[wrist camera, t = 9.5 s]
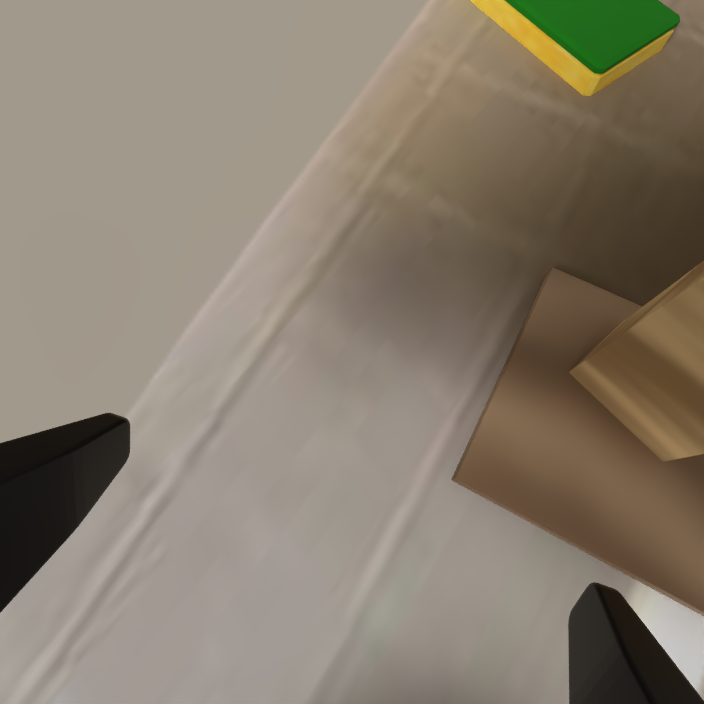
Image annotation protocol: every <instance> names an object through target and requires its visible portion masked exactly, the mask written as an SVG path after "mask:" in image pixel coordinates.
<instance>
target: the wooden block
mask: <svg viewBox="0 0 704 704" xmlns="http://www.w3.org/2000/svg"><path fill="white" fill-rule="evenodd" d="M569 373H570V374H571V375H572V376H573V377H574V378H575V379H576V380H577V381H578V382H579V383H580V384H581V385H583V386H584V387H585V388H586V389H587V390H588V391H589V392H590V393H591V394H592V395H593V396H594V397H595V398H596V399H597V400H598V401H599V402H600V403H602V404H603V405H604V406H605V407H606V408H607V409H608V410H609V411H610V412H611V413H612V414H613V415H614V416H615V417H616V418H617V419H618V420H619V421H621V422H622V423H623V424H624V425H625V426H626V427H627V428H628V429H629V430H630V431H631V432H632V433H633V434H634V435H635V436H636V437H637V438H638V439H640V440H641V441H642V442H643V443H644V444H645V445H646V446H647V447H648V448H649V449H650V450H651V451H652V452H653V453H654V454H655V455H656V456H657V457H659V458H660V459H661V460H662V461H663V462H664V461H669V460H675V459H680V458H685V457H690V456H696V455H701V454H704V261H703V262H701V263H700V264H699V265H697V266H696V267H695V268H693V269H692V270H691V271H689V272H688V273H687V274H685V275H684V276H683V277H681V278H680V279H679V280H677V281H676V282H675V283H673V284H672V285H671V286H669V287H668V288H667V289H665V290H664V291H663V292H661V293H660V294H659V295H657V296H656V297H655V298H653V299H652V300H651V301H649V302H648V303H647V304H645V305H644V306H643V307H641V308H640V309H639V310H638V311H636V312H635V313H634V314H632V315H631V316H630V317H628V318H627V319H626V320H624V321H623V322H622V323H621V324H620V325H619V326H618V327H616V328H615V329H614V330H613V331H612V332H611V333H610V334H609V335H608V336H607V337H606V338H605V339H604V340H603V341H601V342H600V343H599V344H598V345H597V346H596V347H595V348H594V349H593V350H592V351H591V352H590V353H589V354H588V355H586V356H585V357H584V358H583V359H582V360H581V361H580V362H579V363H578V364H577V365H576V366H575V367H574V368H573V369H571V370H570V371H569Z"/></svg>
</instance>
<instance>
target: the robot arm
mask: <svg viewBox="0 0 704 704" xmlns="http://www.w3.org/2000/svg"><path fill="white" fill-rule="evenodd" d="M129 453H130V423H129V421H128V419H126V418H124V417H121V416H118V415H115V414H113V413H105V414H101V415H98V416H95V417H91V418H87V419H84V420H81V421H77V422H73V423H70V424H66V425H63V426H59V427H56V428H52V429H49V430H45V431H42V432H38V433H35V434H32V435H28V436H24V437H21V438H17V439H14V440H10V441H6V442H3V443H0V612H1V611H2V610H3V609H4V608H5V607H6V606H7V605H8V604H9V603H10V601H11V600H12V599H13V598H14V597H15V596H16V595H17V594H18V593H19V592H20V590H21V589H22V588H23V587H24V586H25V585H26V584H27V583H28V582H29V580H30V579H31V578H32V577H33V576H34V575H35V574H36V573H37V572H38V571H39V569H40V568H41V567H42V566H43V565H44V564H45V563H46V562H47V561H48V560H49V558H50V557H51V556H52V555H53V554H54V553H55V552H56V551H57V550H58V549H59V547H60V546H61V545H62V544H63V543H64V542H65V541H66V540H67V539H68V537H69V536H70V535H71V534H72V533H73V532H74V531H75V529H76V528H77V527H78V526H79V525H80V523H81V522H82V521H83V519H84V518H85V517H86V516H87V514H88V513H89V512H90V510H91V509H92V508H93V506H94V505H95V503H96V502H97V501H98V499H99V498H100V497H101V495H102V494H103V493H104V491H105V490H106V489H107V487H108V486H109V485H110V483H111V482H112V481H113V479H114V478H115V477H116V475H117V474H118V472H119V471H120V470H121V468H122V467H123V466H124V464H125V463H126V461H127V459H128V457H129ZM568 629H569V704H704V700H703V699H702V698H701V697H700V695H699V694H698V693H697V691H696V690H695V689H694V688H693V686H692V685H691V684H690V682H689V681H688V680H687V679H686V677H685V676H684V675H683V673H682V672H681V671H680V670H679V668H678V667H677V666H676V664H675V663H674V662H673V661H672V659H671V658H670V657H669V655H668V654H667V653H666V652H665V650H664V649H663V648H662V646H661V645H660V644H659V643H658V641H657V640H656V639H655V637H654V636H653V635H652V634H651V632H650V631H649V630H648V628H647V627H646V626H645V624H644V623H643V622H642V621H641V619H640V618H639V617H638V615H637V614H636V613H635V612H634V610H633V609H632V608H631V606H630V605H629V604H628V603H627V601H626V600H625V599H624V597H623V596H622V595H621V594H620V593H619V592H618V591H617V590H615V589H613V588H610V587H608V586H605V585H602V584H599V583H591V584H589V585H588V587H587V588H586V589H585V591H584V592H583V594H582V595H581V597H580V598H579V600H578V601H577V603H576V604H575V606H574V607H573V609H572V611H571V613H570V616H569V624H568Z"/></svg>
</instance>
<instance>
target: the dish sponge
mask: <svg viewBox="0 0 704 704" xmlns="http://www.w3.org/2000/svg"><path fill="white" fill-rule="evenodd" d="M470 1H471V2H473V3H474V4H475V5H476V6H477V7H478V8H480V9H481V10H482V11H483V12H484V13H486V14H487V15H488V16H489V17H490V18H492V19H493V20H494V21H495V22H496V23H497V24H499V25H500V26H501V27H502V28H503V29H505V30H506V31H507V32H508V33H509V34H511V35H512V36H513V37H514V38H515V39H516V40H518V41H519V42H520V43H521V44H522V45H524V46H525V47H526V48H527V49H528V50H530V51H531V52H532V53H533V54H534V55H536V56H537V57H538V58H539V59H540V60H541V61H543V62H544V63H545V64H546V65H547V66H549V67H550V68H551V69H552V70H553V71H555V72H556V73H557V74H558V75H559V76H560V77H562V78H563V79H564V80H565V81H566V82H568V83H569V84H570V85H571V86H572V87H574V88H575V89H576V90H577V91H578V92H579V93H581V94H582V95H586V96H591V95H593V94H594V93H596V92H597V91H599V90H601V89H602V88H604V87H605V86H607V85H608V84H610V83H611V82H613V81H614V80H616V79H617V78H619V77H620V76H622V75H624V74H625V73H627V72H628V71H630V70H631V69H633V68H634V67H636V66H637V65H639V64H640V63H642V62H643V61H645V60H647V59H648V58H650V57H651V56H653V55H654V54H656V53H657V52H659V51H660V50H662V48H663V47H664V45H665V44H666V42H667V40H668V39H669V37H670V36H671V34H672V33H673V31H674V29H673V28H675V27H676V26H677V25H678V23H679V22H680V17H679V15H678V14H676V13H675V12H674V11H672V10H671V9H669V8H668V7H667V6H665V5H664V4H663V3H661V2H660V1H658V0H470Z"/></svg>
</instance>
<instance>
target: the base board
mask: <svg viewBox="0 0 704 704" xmlns="http://www.w3.org/2000/svg"><path fill="white" fill-rule="evenodd" d="M641 307H642V306H640V305H638V304H635V303H633V302H631V301H629V300H626V299H624V298H622V297H620V296H617V295H615V294H613V293H610V292H608V291H606V290H604V289H601V288H599V287H597V286H595V285H592V284H590V283H588V282H585V281H583V280H581V279H579V278H576V277H574V276H572V275H570V274H567V273H565V272H563V271H560V270H558V269H556V268H554V267H552V269H551V270H550V271H549V273H548V274H547V275H546V277H545V279H544V281H543V283H542V285H541V287H540V290H539V292H538V294H537V296H536V298H535V300H534V303H533V305H532V307H531V309H530V311H529V313H528V315H527V318H526V320H525V322H524V324H523V326H522V328H521V331H520V333H519V335H518V337H517V339H516V341H515V344H514V346H513V348H512V350H511V352H510V354H509V356H508V359H507V361H506V363H505V365H504V367H503V369H502V372H501V374H500V376H499V378H498V380H497V382H496V385H495V387H494V389H493V391H492V393H491V395H490V398H489V400H488V402H487V404H486V406H485V408H484V410H483V413H482V415H481V417H480V419H479V421H478V423H477V426H476V428H475V430H474V432H473V434H472V436H471V439H470V441H469V443H468V445H467V447H466V449H465V451H464V454H463V456H462V458H461V460H460V462H459V464H458V467H457V469H456V471H455V473H454V475H453V477H452V480H453V481H455V482H456V483H458V484H460V485H462V486H464V487H466V488H467V489H469V490H471V491H473V492H475V493H477V494H479V495H480V496H482V497H484V498H486V499H488V500H490V501H492V502H493V503H495V504H497V505H499V506H501V507H503V508H505V509H506V510H508V511H510V512H512V513H514V514H516V515H517V516H519V517H521V518H523V519H525V520H527V521H529V522H530V523H532V524H534V525H536V526H538V527H540V528H542V529H543V530H545V531H547V532H549V533H551V534H553V535H555V536H556V537H558V538H560V539H562V540H564V541H566V542H567V543H569V544H571V545H573V546H575V547H577V548H579V549H580V550H582V551H584V552H586V553H588V554H590V555H592V556H593V557H595V558H597V559H599V560H601V561H603V562H605V563H606V564H608V565H610V566H612V567H614V568H616V569H617V570H619V571H621V572H623V573H625V574H627V575H629V576H630V577H632V578H634V579H636V580H638V581H640V582H642V583H643V584H645V585H647V586H649V587H651V588H653V589H655V590H656V591H658V592H660V593H662V594H664V595H666V596H667V597H669V598H671V599H673V600H675V601H677V602H679V603H680V604H682V605H684V606H686V607H688V608H690V609H692V610H693V611H695V612H697V613H699V614H701V615H703V616H704V454H701V455H696V456H690V457H685V458H680V459H675V460H669V461H664V462H663V461H662V460H661V459H660V458H659V457H657V456H656V455H655V454H654V453H653V452H652V451H651V450H650V449H649V448H648V447H647V446H646V445H645V444H644V443H643V442H642V441H641V440H640V439H638V438H637V437H636V436H635V435H634V434H633V433H632V432H631V431H630V430H629V429H628V428H627V427H626V426H625V425H624V424H623V423H622V422H621V421H619V420H618V419H617V418H616V417H615V416H614V415H613V414H612V413H611V412H610V411H609V410H608V409H607V408H606V407H605V406H604V405H603V404H602V403H600V402H599V401H598V400H597V399H596V398H595V397H594V396H593V395H592V394H591V393H590V392H589V391H588V390H587V389H586V388H585V387H584V386H583V385H581V384H580V383H579V382H578V381H577V380H576V379H575V378H574V377H573V376H572V375H571V374H570V373H569V371H570V370H571V369H573V368H574V367H575V366H576V365H577V364H578V363H579V362H580V361H581V360H582V359H583V358H584V357H585V356H586V355H588V354H589V353H590V352H591V351H592V350H593V349H594V348H595V347H596V346H597V345H598V344H599V343H600V342H601V341H603V340H604V339H605V338H606V337H607V336H608V335H609V334H610V333H611V332H612V331H613V330H614V329H615V328H616V327H618V326H619V325H620V324H621V323H622V322H623V321H624V320H626V319H627V318H628V317H630V316H631V315H632V314H634V313H635V312H636V311H638V310H639V309H640V308H641Z"/></svg>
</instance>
